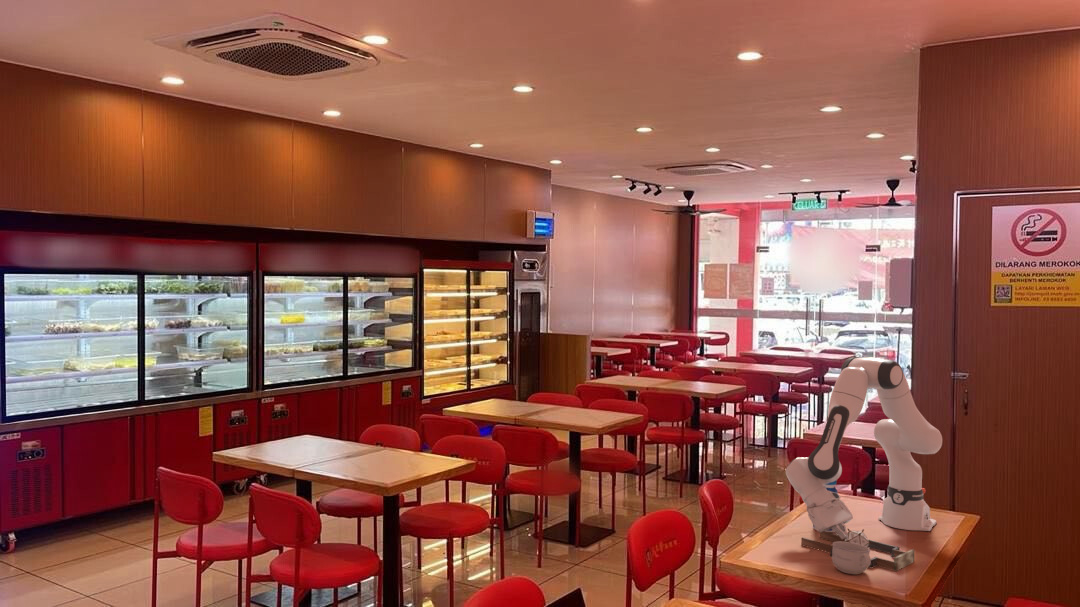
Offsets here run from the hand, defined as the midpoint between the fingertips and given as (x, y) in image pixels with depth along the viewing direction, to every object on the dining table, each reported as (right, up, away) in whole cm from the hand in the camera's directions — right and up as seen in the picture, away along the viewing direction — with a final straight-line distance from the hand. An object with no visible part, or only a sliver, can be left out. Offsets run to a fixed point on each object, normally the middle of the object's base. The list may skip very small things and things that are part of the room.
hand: (846, 537), depth 267 cm
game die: (+2, -5, -3) cm, 6 cm away
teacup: (-6, -5, -22) cm, 23 cm away
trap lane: (+2, -4, -3) cm, 6 cm away
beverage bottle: (+1, -4, +24) cm, 24 cm away
